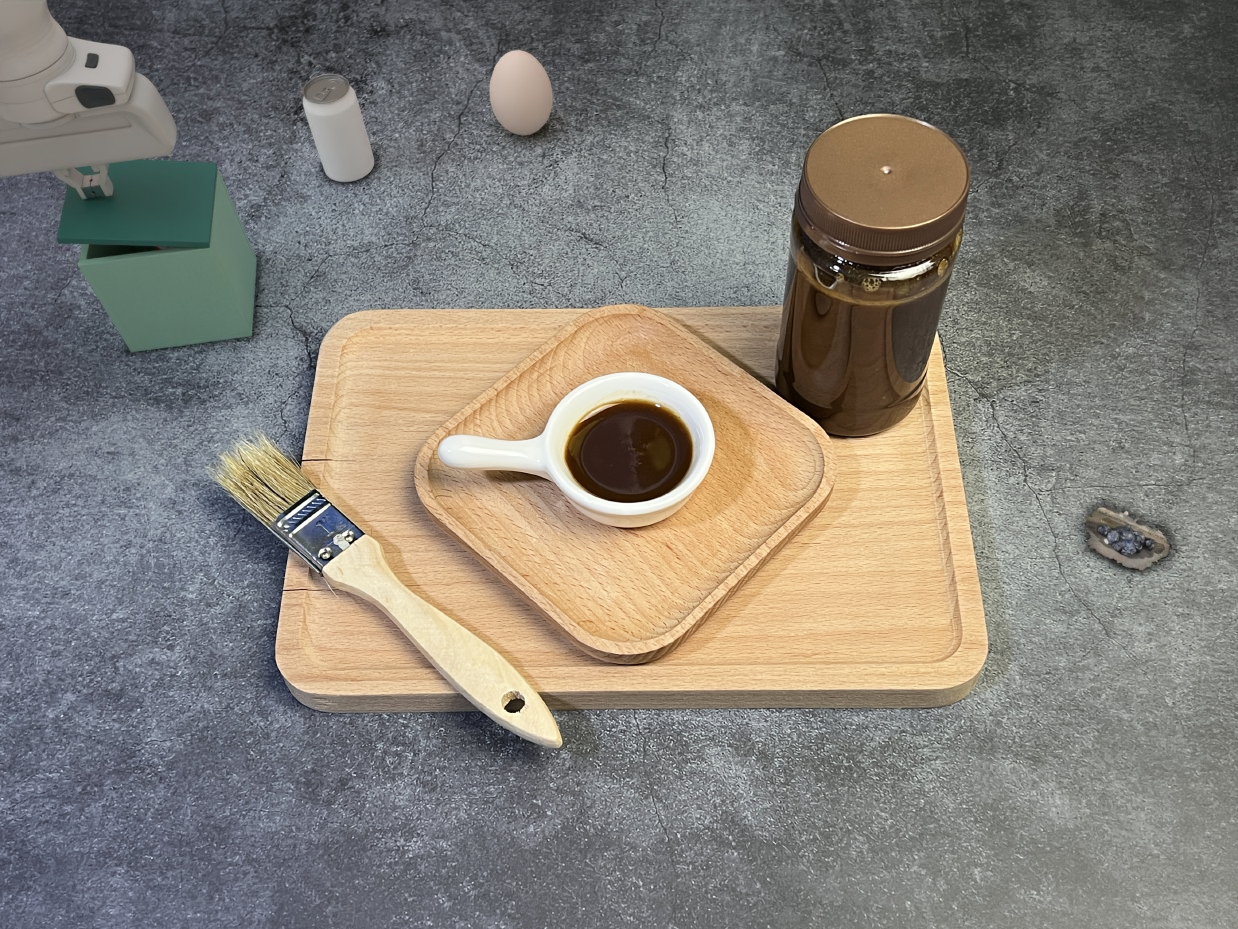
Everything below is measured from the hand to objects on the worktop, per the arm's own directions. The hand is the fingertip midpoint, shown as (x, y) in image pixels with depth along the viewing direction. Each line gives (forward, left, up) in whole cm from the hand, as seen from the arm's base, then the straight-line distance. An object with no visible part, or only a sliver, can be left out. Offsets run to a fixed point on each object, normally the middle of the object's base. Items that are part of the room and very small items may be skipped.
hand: (98, 193), depth 114 cm
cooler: (+4, 0, -17) cm, 18 cm away
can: (+22, +21, -18) cm, 35 cm away
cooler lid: (+4, 0, -2) cm, 4 cm away
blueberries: (+96, -48, -18) cm, 109 cm away
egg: (+45, +24, -18) cm, 54 cm away
